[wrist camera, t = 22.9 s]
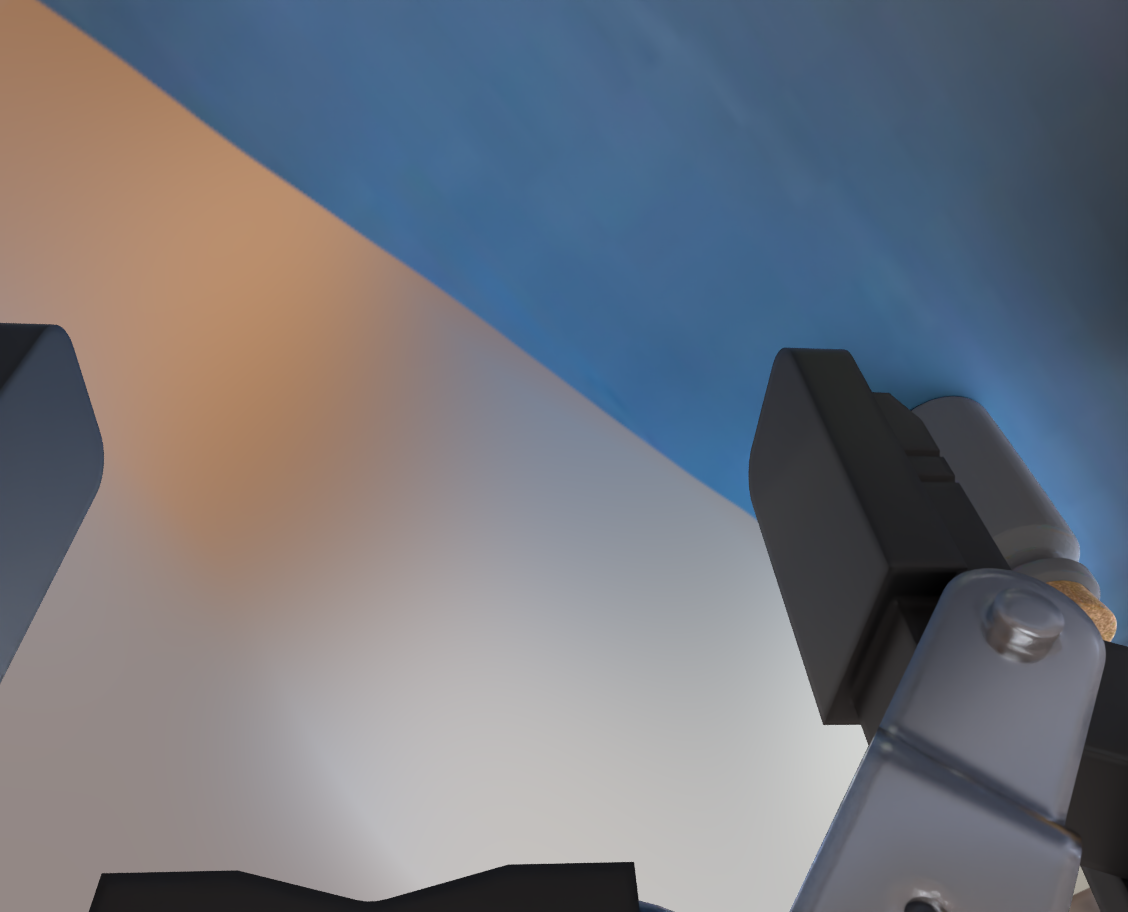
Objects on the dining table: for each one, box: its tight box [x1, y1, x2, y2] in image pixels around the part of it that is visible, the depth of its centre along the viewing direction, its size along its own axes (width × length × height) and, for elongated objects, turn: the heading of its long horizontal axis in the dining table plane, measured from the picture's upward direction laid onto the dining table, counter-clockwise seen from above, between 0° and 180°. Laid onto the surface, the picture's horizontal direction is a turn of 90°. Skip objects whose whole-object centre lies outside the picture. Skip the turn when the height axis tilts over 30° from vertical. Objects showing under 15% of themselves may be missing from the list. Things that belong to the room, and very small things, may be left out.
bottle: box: [911, 396, 1116, 642], centre depth 47 cm, size 6×6×15 cm
